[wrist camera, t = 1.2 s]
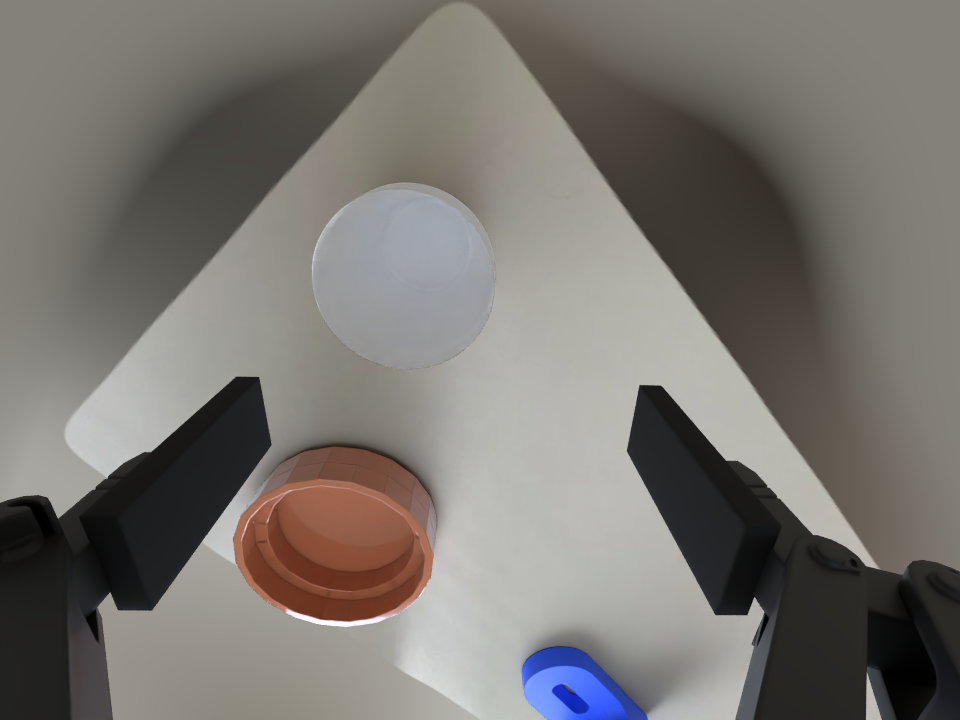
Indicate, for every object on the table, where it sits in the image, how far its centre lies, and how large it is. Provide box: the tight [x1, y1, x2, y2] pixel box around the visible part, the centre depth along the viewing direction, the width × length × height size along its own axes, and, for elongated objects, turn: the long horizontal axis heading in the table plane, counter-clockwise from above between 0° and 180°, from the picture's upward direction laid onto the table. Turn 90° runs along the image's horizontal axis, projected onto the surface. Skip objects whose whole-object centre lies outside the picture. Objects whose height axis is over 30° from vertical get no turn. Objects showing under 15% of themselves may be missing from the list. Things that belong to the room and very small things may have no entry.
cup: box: [311, 182, 496, 369], centre depth 27 cm, size 9×9×12 cm
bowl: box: [233, 446, 437, 627], centre depth 40 cm, size 16×16×5 cm
